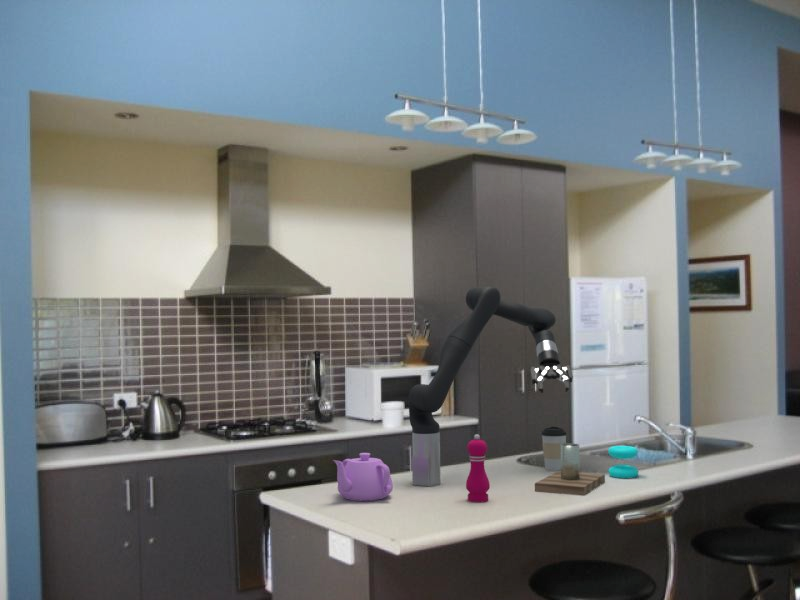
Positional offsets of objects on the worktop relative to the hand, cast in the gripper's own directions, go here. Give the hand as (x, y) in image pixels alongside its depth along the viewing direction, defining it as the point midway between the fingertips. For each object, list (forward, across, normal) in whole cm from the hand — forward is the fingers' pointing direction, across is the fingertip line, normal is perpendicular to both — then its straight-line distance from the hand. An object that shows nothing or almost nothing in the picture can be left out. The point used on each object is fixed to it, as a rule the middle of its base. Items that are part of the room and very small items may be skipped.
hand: (554, 390), depth 300 cm
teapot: (+44, -67, -6) cm, 80 cm away
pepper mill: (+47, -31, -8) cm, 57 cm away
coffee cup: (+12, +1, +31) cm, 33 cm away
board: (+34, +1, +7) cm, 35 cm away
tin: (+32, +1, +5) cm, 33 cm away
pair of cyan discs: (+23, +22, +20) cm, 38 cm away
